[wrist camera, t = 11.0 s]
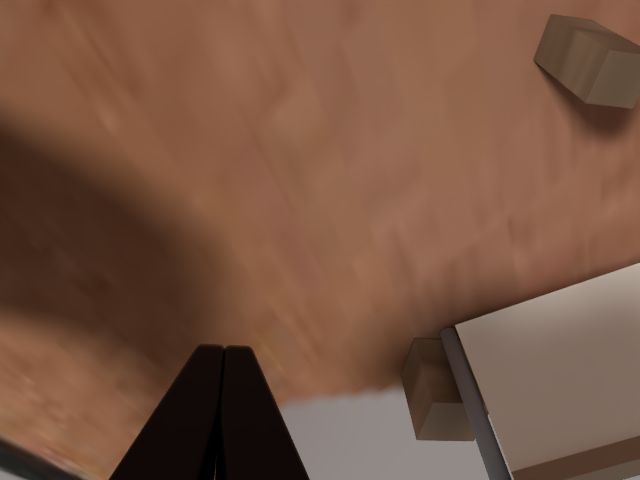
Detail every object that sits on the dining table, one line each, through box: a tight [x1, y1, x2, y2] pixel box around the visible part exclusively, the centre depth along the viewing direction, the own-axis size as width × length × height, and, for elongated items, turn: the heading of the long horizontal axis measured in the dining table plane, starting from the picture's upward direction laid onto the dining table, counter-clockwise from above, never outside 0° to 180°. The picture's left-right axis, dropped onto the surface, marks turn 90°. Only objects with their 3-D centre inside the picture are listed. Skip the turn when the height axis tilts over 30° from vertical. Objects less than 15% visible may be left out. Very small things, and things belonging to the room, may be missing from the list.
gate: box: [440, 263, 640, 480], centre depth 23 cm, size 1×14×9 cm, turn 113°
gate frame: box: [401, 14, 640, 441], centre depth 23 cm, size 3×19×4 cm, turn 172°
